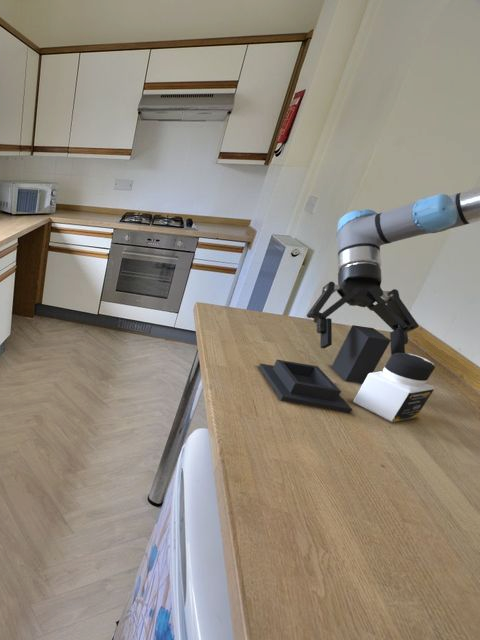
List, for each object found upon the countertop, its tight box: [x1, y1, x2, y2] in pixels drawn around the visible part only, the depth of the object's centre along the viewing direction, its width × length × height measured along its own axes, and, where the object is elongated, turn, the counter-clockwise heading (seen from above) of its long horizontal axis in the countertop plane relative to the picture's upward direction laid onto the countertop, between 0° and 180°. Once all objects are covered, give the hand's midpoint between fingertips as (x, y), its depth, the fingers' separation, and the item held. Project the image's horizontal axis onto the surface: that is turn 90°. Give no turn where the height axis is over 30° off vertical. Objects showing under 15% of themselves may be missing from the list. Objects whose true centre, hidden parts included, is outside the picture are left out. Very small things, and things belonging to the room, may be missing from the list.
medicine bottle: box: [353, 352, 436, 423], centre depth 80 cm, size 7×7×12 cm
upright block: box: [331, 324, 391, 384], centre depth 93 cm, size 4×7×11 cm, turn 162°
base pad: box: [258, 359, 353, 414], centre depth 88 cm, size 12×15×4 cm
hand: (361, 352), depth 92 cm, fingers open, 13 cm apart
